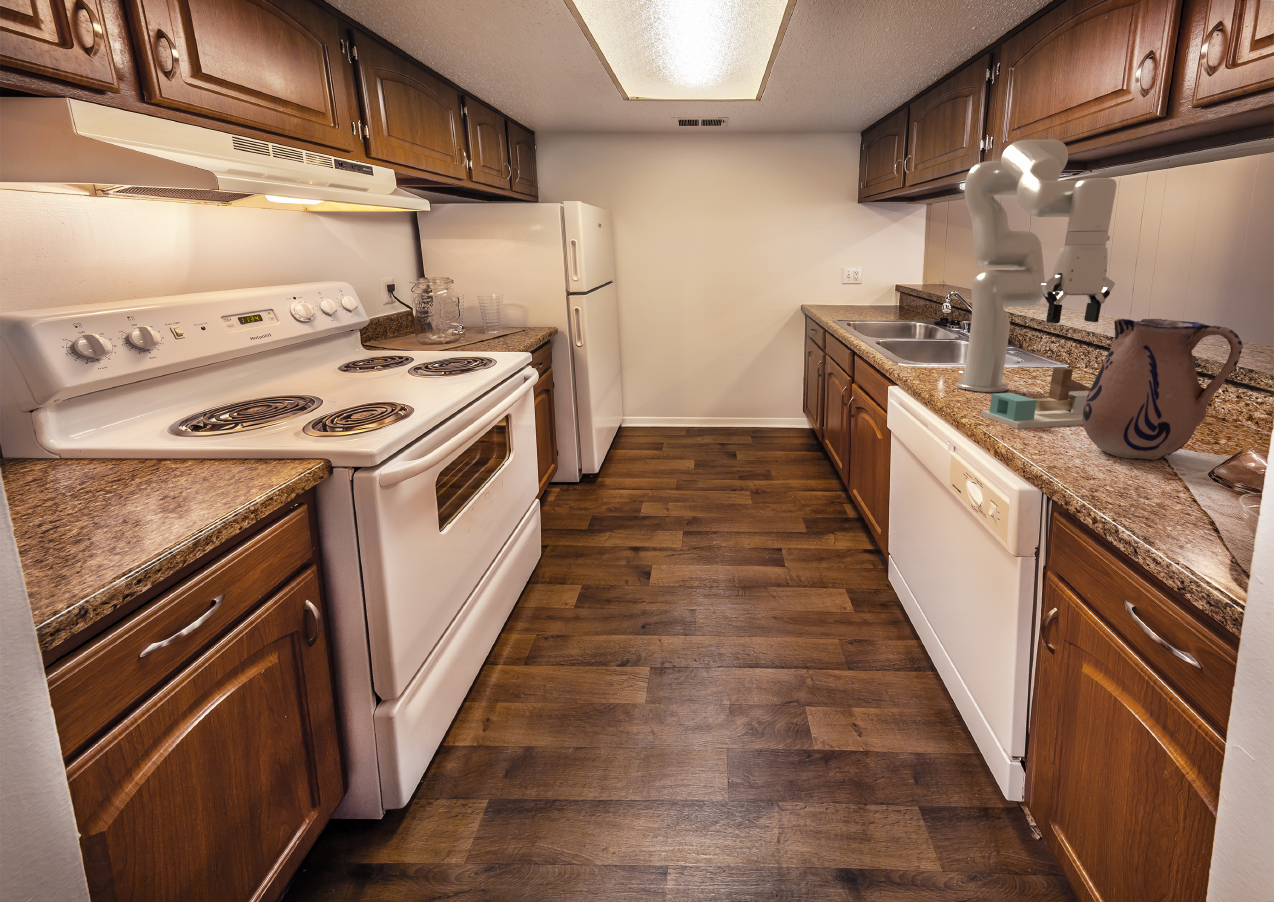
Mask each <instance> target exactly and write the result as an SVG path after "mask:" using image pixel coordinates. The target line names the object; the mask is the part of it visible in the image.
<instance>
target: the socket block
mask: <svg viewBox="0 0 1274 902" xmlns="http://www.w3.org/2000/svg"><path fill="white" fill-rule="evenodd" d="M1035 399H1036V398H1030V397H1027V396H1024V395H1021V394H1017V393H1013V392H996V393H991V397H990V405H989V413H992V414H995V415H998V416H1001V417H1004V418H1007V419H1010V420H1012V421H1020V420H1034V415H1035V408H1036V402H1037V400H1035Z"/></svg>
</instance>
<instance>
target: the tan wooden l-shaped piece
mask: <svg viewBox="0 0 1274 902" xmlns="http://www.w3.org/2000/svg"><path fill="white" fill-rule="evenodd" d="M1052 368H1053V369H1052V374H1051V380H1050V386H1049V390H1048V391H1049V392H1048V397H1043V398H1034V399H1035V400H1037V402H1036V408H1035V411H1039V412H1041V411H1058V410H1071V408H1072V403H1073V398H1071V397H1068V395H1069V390H1070V384H1071V379H1073V378H1072V377H1073V371H1074V368H1069V367H1065V366H1056V367H1054V366H1053V367H1052Z"/></svg>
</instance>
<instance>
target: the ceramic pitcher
mask: <svg viewBox="0 0 1274 902" xmlns="http://www.w3.org/2000/svg"><path fill="white" fill-rule="evenodd" d="M1113 323H1114V336H1113V339H1112V342H1111V346H1110V349H1109V351H1108V353H1107V355H1106V357H1105V359H1104V361H1103V363H1102V366H1101V367H1100V369H1099V371H1098V372H1097V375H1096V377H1095V378H1094V380H1093V383H1092V385H1091V387H1090V388H1091V389H1090V391H1089V393H1088V396H1087V399H1086V402H1085V405H1084V409H1083V428H1084V430H1085V433H1086V435H1087V437H1088V439H1090V440H1091V442H1093V444H1094V445H1095V446H1096V448H1099V450H1101V451H1102V452H1104V453H1106V454H1110V455H1112V456H1116V457H1119V458H1123V459H1144V460H1150V461H1151V460H1153V461H1155V460H1157V459H1162V458H1164V457H1168V456H1170V455H1172V454H1173V453H1176V452H1177V451H1178V450H1180V449H1182V448H1183V447H1184V446H1185V445H1186V444H1187V443H1188V442H1189V441H1190V440H1191V438H1192V437H1193V436H1194V433H1195V431H1196V429H1197V427H1198V426H1200V424H1202V423H1203V421H1204V420H1205V418H1206V417H1207V407H1208V405H1209V402H1210V400H1211V399H1212V397H1214V395H1215V394H1216V393H1217V392H1218V391H1219V389H1220V388H1221V387H1222V385H1224V383H1225V382H1226V381H1227V379H1228V378H1229V377H1230V375H1231V374H1232V372H1233V371H1234V370H1235V368H1236V366H1237V365H1238V364H1239V362H1240V359H1241V354H1242V350H1243V347H1244V345H1243V342H1242V340H1241V338H1240V337H1239V335H1238V334H1237V332H1235V330H1233V329H1231V328H1228V327H1227V326H1226V327H1225V326H1219V325H1207V324H1205V323H1201V322H1198V321H1187V320H1186V321H1183V320H1174V319H1173V320H1171V319H1163V318H1143V319H1141V320H1133V319H1129V318H1119V319H1115V320H1114V322H1113ZM1209 336H1220V337H1223V338H1224V339H1225V340H1227V342H1228V344H1229V346H1230V352H1229V354H1228V356H1227V357H1228V358H1227V360H1226V362H1225V363H1224V365H1223V366H1222V368H1221V370H1220V371H1219V373H1218V374H1217V375H1215V377H1214V378H1213V379H1212V380H1211V381H1210V382H1209V383H1208V384H1207V385H1206V387H1202V385H1201V383H1200V382H1199V377H1198V374H1197V369H1196V363H1195V360H1194V355H1193V350H1194V349H1195V347H1197V345H1198V344H1199V342H1200V341H1202V340H1203V339H1204V338H1206V337H1209Z"/></svg>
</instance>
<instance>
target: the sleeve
mask: <svg viewBox="0 0 1274 902" xmlns="http://www.w3.org/2000/svg"><path fill="white" fill-rule="evenodd" d="M1088 393H1089V391H1073V392H1069V395H1068V397H1071V398H1073V403H1072V408H1071V410H1058V411H1060V412H1064V413H1067V414H1070V415H1083V409H1084V405H1085V402H1086V399H1087V396H1088Z"/></svg>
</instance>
